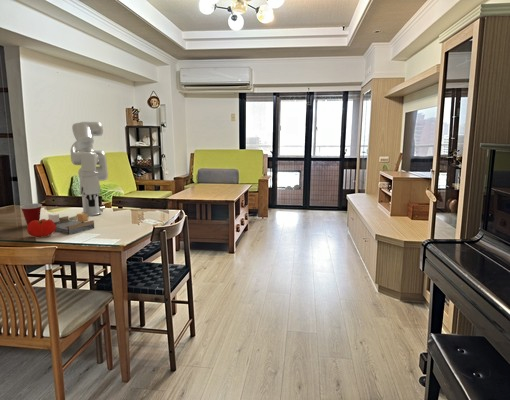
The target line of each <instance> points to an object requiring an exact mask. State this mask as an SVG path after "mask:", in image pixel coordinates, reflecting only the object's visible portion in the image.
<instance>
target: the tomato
mask: <svg viewBox="0 0 510 400" xmlns="http://www.w3.org/2000/svg"><path fill="white" fill-rule="evenodd" d="M55 230H56V225H55V223H54V222H53V221H52V220H50V219H49V218H48V219H46V218H40V220H39V221H37V220H33V221H31V222H30V223H29V224H28V225H26V231H27V234H28V235H29V236H31V237H34V238H37V239H38V238H45V237H49V236H50V235H52V234H53V233H55Z"/></svg>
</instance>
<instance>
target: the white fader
mask: <svg viewBox="0 0 510 400" xmlns="http://www.w3.org/2000/svg"><path fill="white" fill-rule="evenodd" d="M47 216H48V217H47V218H48V219H50V220H52V221H53V222H54V223H55V224H56V222H59V221H60V220H59V218H60V214H59V213H53V212H52V213H49V214H48V215H47Z"/></svg>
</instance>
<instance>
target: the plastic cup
mask: <svg viewBox="0 0 510 400" xmlns="http://www.w3.org/2000/svg"><path fill="white" fill-rule="evenodd" d="M42 207H43V204H42V203H26V204H23V205H20V206H19V208H20V209H21V211H22V214H23V217H24V220H25V223H26V226H28V224H29V223H30V222H31V221H33V220H37V221H39V220H41V210H42Z"/></svg>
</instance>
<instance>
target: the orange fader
mask: <svg viewBox="0 0 510 400" xmlns="http://www.w3.org/2000/svg"><path fill="white" fill-rule="evenodd" d="M88 217H89V216H88V215H87V214H85V213H82V212H80V213H76V221H80V222H81V223H83V222H88V221H89V218H88Z"/></svg>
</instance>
